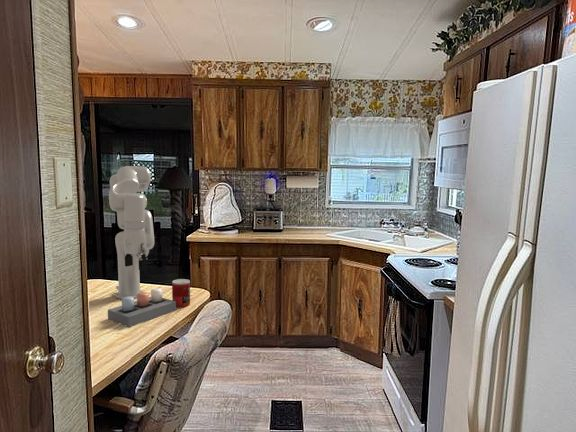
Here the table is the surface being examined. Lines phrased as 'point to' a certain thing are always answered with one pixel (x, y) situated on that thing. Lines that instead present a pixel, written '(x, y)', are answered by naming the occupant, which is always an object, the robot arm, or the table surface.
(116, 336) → the table surface
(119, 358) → the table surface
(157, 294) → the white dome button
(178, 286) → the canned food
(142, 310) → the grey slotted tray
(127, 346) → the table surface
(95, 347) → the table surface
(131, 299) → the pale blue rounded dome
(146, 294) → the pink rounded dome
